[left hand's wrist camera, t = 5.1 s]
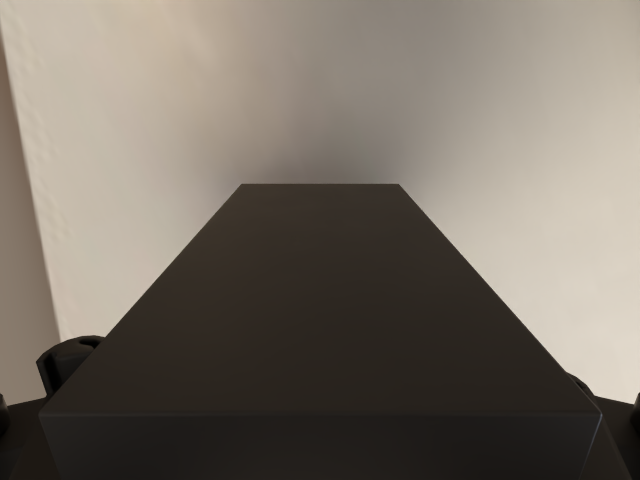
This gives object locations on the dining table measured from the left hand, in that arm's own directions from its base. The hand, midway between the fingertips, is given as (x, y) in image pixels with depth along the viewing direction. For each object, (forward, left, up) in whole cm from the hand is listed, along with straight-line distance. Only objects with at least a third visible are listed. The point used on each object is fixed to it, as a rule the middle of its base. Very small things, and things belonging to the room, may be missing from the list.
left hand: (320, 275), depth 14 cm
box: (+9, 0, -2) cm, 9 cm away
